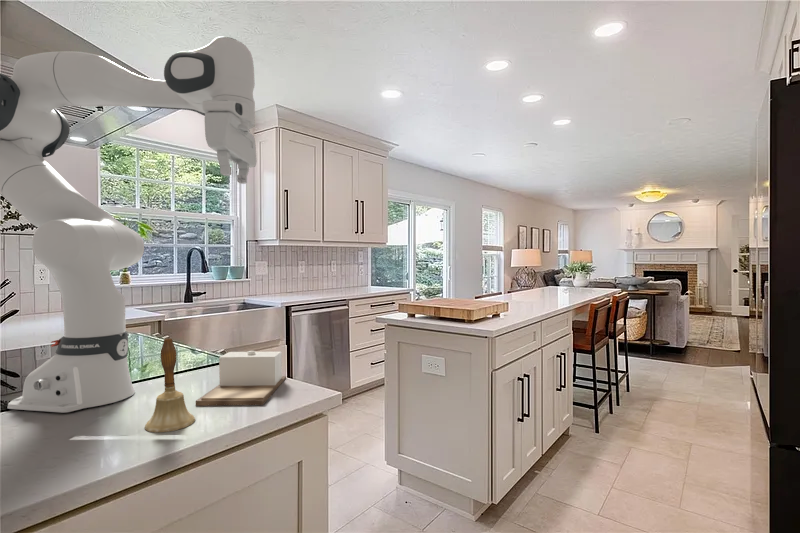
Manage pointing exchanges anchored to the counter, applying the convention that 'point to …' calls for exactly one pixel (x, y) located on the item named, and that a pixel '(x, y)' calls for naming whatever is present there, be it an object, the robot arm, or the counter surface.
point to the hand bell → (169, 398)
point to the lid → (250, 368)
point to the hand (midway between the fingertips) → (234, 179)
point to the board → (238, 395)
